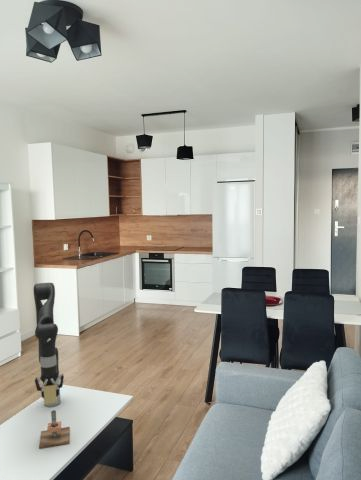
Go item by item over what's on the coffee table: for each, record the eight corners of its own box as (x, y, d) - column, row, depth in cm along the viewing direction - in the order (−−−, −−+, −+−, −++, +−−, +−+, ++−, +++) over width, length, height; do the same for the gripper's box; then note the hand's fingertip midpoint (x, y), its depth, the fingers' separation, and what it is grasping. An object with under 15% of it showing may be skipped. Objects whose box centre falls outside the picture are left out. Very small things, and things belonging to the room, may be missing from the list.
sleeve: (45, 399, 205) (44, 381, 204) (56, 397, 206) (55, 380, 205) (44, 404, 199) (43, 386, 198) (56, 402, 201) (55, 384, 200)
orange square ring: (48, 426, 205) (47, 423, 205) (61, 424, 207) (61, 421, 207) (47, 432, 199) (47, 429, 199) (61, 430, 201) (60, 427, 201)
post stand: (41, 433, 208) (39, 407, 207) (69, 428, 212) (68, 402, 211) (39, 448, 195) (37, 420, 194) (69, 443, 198) (68, 416, 197)
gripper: (63, 359, 207) (65, 391, 208) (33, 363, 203) (35, 395, 204) (63, 364, 199) (65, 398, 201) (32, 368, 196) (34, 402, 197)
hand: (50, 396), depth 203 cm, fingers closed on sleeve, 5 cm apart
